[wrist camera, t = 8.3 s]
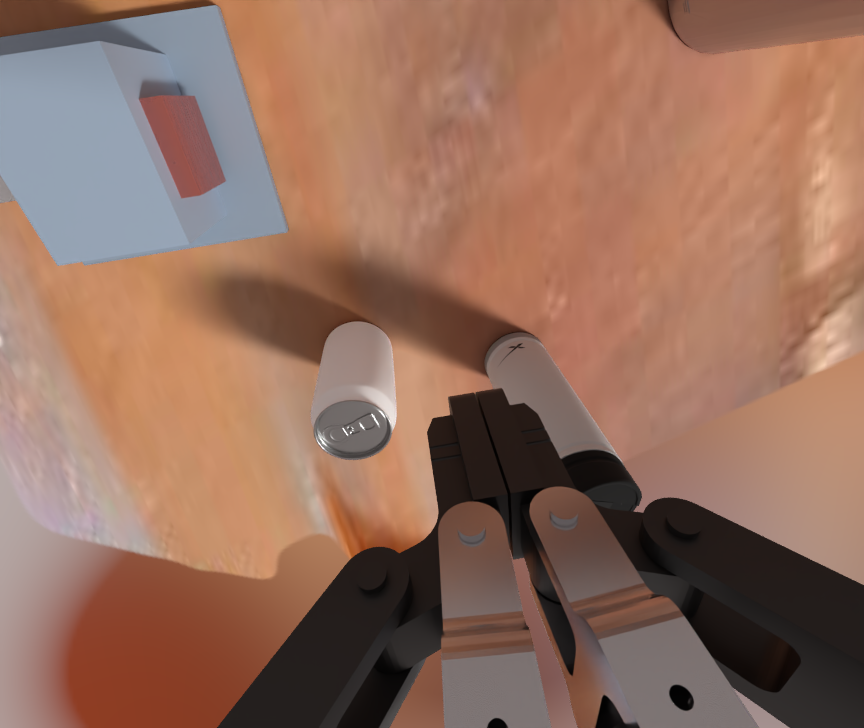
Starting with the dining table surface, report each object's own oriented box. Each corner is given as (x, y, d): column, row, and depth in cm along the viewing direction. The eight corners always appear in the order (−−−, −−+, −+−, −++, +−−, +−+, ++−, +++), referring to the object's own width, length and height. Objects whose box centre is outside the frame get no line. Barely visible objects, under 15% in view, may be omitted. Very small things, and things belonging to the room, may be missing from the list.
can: (311, 335, 40) (289, 416, 29) (374, 308, 39) (374, 382, 29) (344, 386, 43) (334, 475, 33) (403, 362, 42) (411, 446, 32)
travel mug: (494, 324, 41) (576, 481, 24) (554, 338, 43) (670, 494, 26) (472, 376, 44) (532, 548, 27) (529, 388, 46) (618, 557, 29)
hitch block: (219, 7, 27) (162, -27, 20) (288, 229, 34) (265, 264, 27) (-37, 45, 26) (-193, 26, 19) (90, 262, 34) (12, 306, 27)
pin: (194, 95, 28) (160, 95, 23) (226, 181, 30) (201, 195, 26) (-12, 127, 27) (-86, 133, 23) (39, 211, 30) (-18, 230, 26)
